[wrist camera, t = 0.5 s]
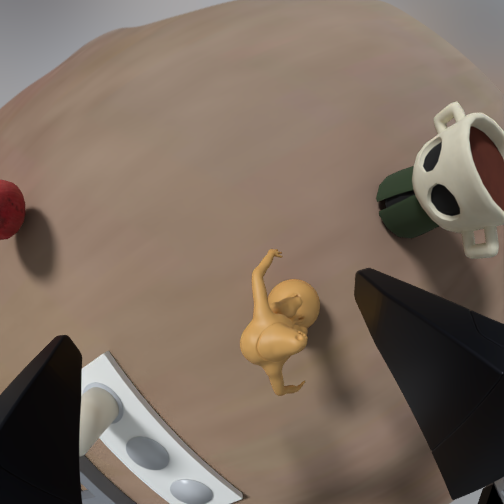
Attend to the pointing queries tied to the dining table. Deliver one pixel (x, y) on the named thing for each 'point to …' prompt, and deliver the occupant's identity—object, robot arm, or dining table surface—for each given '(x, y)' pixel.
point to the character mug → (451, 183)
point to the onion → (10, 209)
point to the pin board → (99, 486)
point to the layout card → (144, 439)
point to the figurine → (278, 323)
